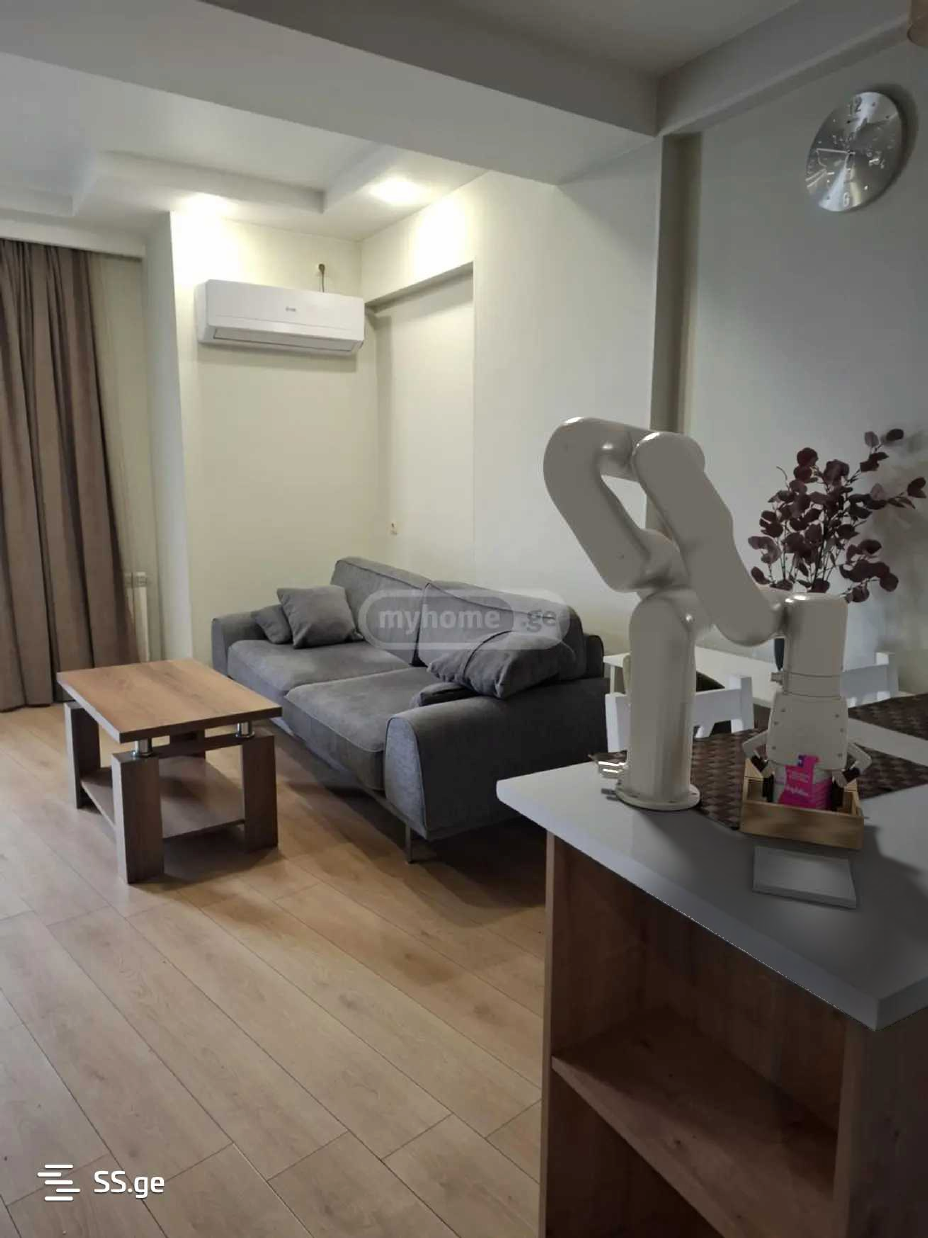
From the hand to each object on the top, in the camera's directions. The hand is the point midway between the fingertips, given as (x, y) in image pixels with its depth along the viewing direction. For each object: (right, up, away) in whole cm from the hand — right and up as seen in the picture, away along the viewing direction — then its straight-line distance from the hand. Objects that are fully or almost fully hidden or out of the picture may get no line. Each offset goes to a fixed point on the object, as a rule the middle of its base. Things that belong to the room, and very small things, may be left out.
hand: (800, 806), depth 116 cm
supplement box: (0, -3, +1) cm, 3 cm away
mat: (-6, -5, -15) cm, 17 cm away
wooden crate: (0, -3, +1) cm, 3 cm away
